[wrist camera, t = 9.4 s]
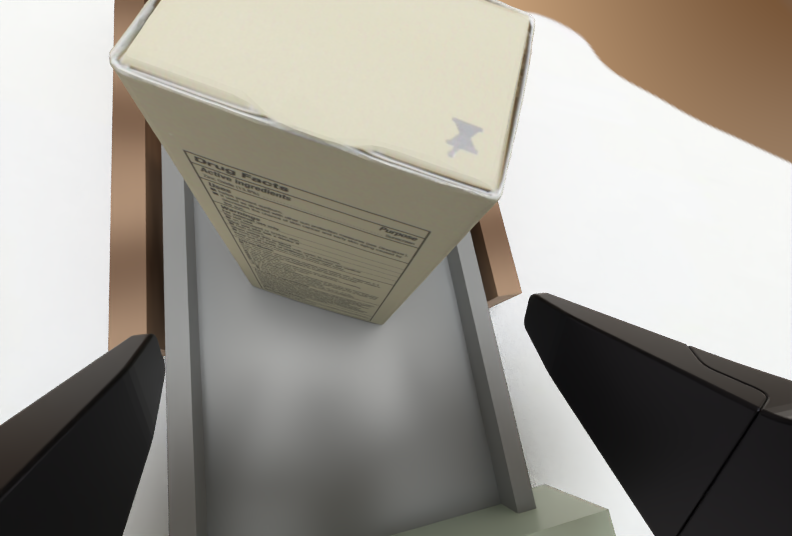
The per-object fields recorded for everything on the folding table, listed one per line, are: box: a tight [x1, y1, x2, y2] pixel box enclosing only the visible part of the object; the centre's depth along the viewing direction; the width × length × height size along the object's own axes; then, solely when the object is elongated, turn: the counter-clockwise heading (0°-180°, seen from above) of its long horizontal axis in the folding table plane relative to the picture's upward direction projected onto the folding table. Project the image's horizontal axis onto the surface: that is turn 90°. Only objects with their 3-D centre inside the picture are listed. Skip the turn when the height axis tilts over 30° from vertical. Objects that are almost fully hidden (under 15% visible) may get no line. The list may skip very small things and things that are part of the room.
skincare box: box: [109, 0, 535, 325], centre depth 12 cm, size 6×4×12 cm
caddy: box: [108, 0, 522, 356], centre depth 20 cm, size 19×16×4 cm
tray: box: [161, 144, 616, 536], centre depth 16 cm, size 18×16×4 cm
